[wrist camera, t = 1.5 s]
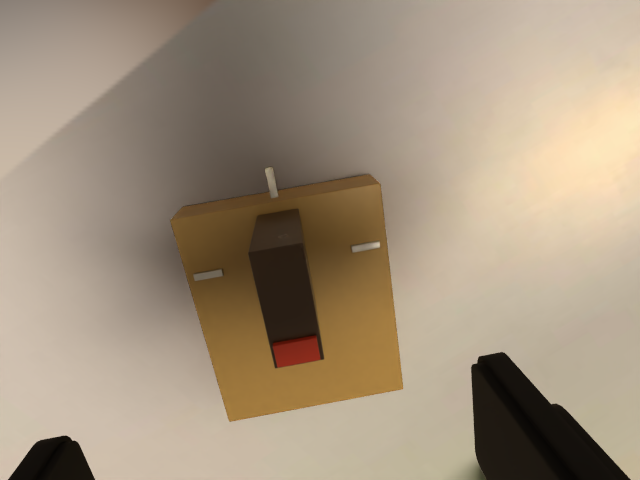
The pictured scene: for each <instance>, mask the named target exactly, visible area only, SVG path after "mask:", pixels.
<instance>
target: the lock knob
mask: <svg viewBox="0 0 640 480" xmlns="http://www.w3.org/2000/svg"><path fill="white" fill-rule="evenodd" d="M248 256H249V260H250V265H251V269H252V273H253V277H254V282H255V286H256V290H257V294H258V299H259V303H260V307H261V311H262V316H263V320H264V324H265V328H266V333H267V337H268V341H269V345H270V350H271V354H272V358H273V362H274V367H275V368H281V367H287V366H292V365H298V364H303V363H308V362H314V361H319V360H324V352H323V346H322V339H321V333H320V326H319V320H318V313H317V307H316V300H315V295H314V289H313V284H312V278H311V273H310V268H309V262H308V257H307V251H306V246H305V240H304V235H303V229H302V224H301V218H300V213H299V209H298V208H297V209H292V210H286V211H280V212H275V213H269V214H263V215H258V216H257V218H256V222H255V226H254V230H253V234H252V239H251V243H250V247H249V251H248Z"/></svg>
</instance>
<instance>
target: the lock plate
mask: <svg viewBox="0 0 640 480" xmlns="http://www.w3.org/2000/svg"><path fill="white" fill-rule="evenodd" d="M265 172H266V177H267V182H268V187H269V192H265V193H259V194H253V195H248V196H242V197H236V198H231V199H225V200H219V201H213V202H208V203H202V204H196V205H191V206H185V207H182V208H181V209H180V210H179V211H178V212H177V213H176V214H175V215H174V217H173V218H172V219H171V220H170V222H171V225H172V229H173V232H174V236H175V239H176V242H177V246H178V249H179V253H180V256H181V259H182V263H183V266H184V270H185V273H186V276H187V280H188V283H189V286H190V290H191V293H192V297H193V300H194V303H195V307H196V310H197V314H198V317H199V320H200V324H201V327H202V331H203V334H204V337H205V341H206V344H207V348H208V351H209V354H210V358H211V361H212V365H213V368H214V371H215V375H216V378H217V382H218V385H219V388H220V392H221V395H222V399H223V402H224V405H225V409H226V412H227V416H228V419H229V421H230V422H231V421H236V420H241V419H247V418H252V417H257V416H263V415H268V414H273V413H278V412H284V411H289V410H294V409H300V408H305V407H310V406H316V405H321V404H326V403H332V402H337V401H342V400H347V399H353V398H358V397H363V396H369V395H374V394H379V393H385V392H390V391H395V390H401V389H403V382H402V373H401V364H400V355H399V346H398V337H397V328H396V319H395V310H394V301H393V292H392V284H391V275H390V266H389V257H388V248H387V239H386V230H385V221H384V212H383V203H382V194H381V185H380V183H379V182H378V181H377V180H376V179H375V178H373V177H372V176H371V175H370V174H368V175H362V176H356V177H351V178H345V179H339V180H334V181H328V182H322V183H316V184H311V185H305V186H299V187H294V188H288V189H282V190H277V186H276V181H275V176H274V171H273V167H269V168H265ZM297 208H298V209H299V213H300V218H301V224H302V229H303V235H304V240H305V246H306V251H307V257H308V262H309V268H310V273H311V278H312V284H313V289H314V295H315V300H316V307H317V313H318V320H319V326H320V333H321V339H322V346H323V352H324V360H319V361H314V362H308V363H303V364H298V365H292V366H287V367H281V368H275V367H274V362H273V358H272V354H271V350H270V345H269V341H268V337H267V333H266V328H265V324H264V320H263V316H262V311H261V307H260V303H259V299H258V294H257V290H256V286H255V282H254V277H253V273H252V269H251V265H250V260H249V256H248V251H249V247H250V243H251V239H252V234H253V230H254V226H255V222H256V218H257V216H258V215H263V214H269V213H275V212H280V211H286V210H292V209H297Z"/></svg>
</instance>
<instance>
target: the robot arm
mask: <svg viewBox="0 0 640 480" xmlns="http://www.w3.org/2000/svg"><path fill="white" fill-rule="evenodd" d="M471 373H472V394H473V414H474V435H475V452H476V457H477V460H478V463H479V466H480V468H481V470H482V472H483V473H484V475H485V477H486V479H487V480H630V479H629V478H628V476H627V475H626V474H625V473H624V472H623V471H622V470H621V469H620V468H619V467H618V466H617V465H616V463H615V462H614V461H613V460H612V459H611V458H610V457H609V456H608V455H607V454H606V453H605V452H604V451H603V449H602V448H601V447H600V446H599V445H598V444H597V443H596V442H595V441H594V440H593V439H592V438H591V436H590V435H589V434H588V433H587V432H586V431H585V430H584V429H583V428H582V427H581V426H580V425H579V423H578V422H577V421H576V420H575V419H574V418H573V417H572V416H571V415H570V414H569V413H568V412H567V411H566V410H565V409H564V408H563V407H562V406H560V405H558V404H550V403H549V402H548V400H547V399H546V398H545V397H544V396H543V395H542V394H541V393H540V392H539V390H538V389H537V388H536V387H535V386H534V385H533V384H532V383H531V381H530V380H529V379H528V378H527V377H526V376H525V375H524V374H523V372H522V371H521V370H520V369H519V368H518V367H517V366H516V365H515V363H514V362H513V361H512V360H511V359H510V358H509V357H508V356H507V355H506V354H505V353H503V352H501V353H495V354H490V355H485V356H480V357H479V358H478V363H477V364H473V365H472V367H471ZM8 480H95V479H94V476H93V474H92V472H91V470H90V468H89V465H88V463H87V461H86V459H85V456H84V454H83V452H82V450H81V448H80V445H79V444H78V442H76V441H72V440H71V438H70V437H68V436H60V437H55V438H50V439H44V440H40V441H38V442H36V443H35V444H34V445H33V447H32V448H31V449H30V451H29V452H28V453H27V455H26V456H25V458H24V459H23V460H22V462H21V463H20V464H19V466H18V467H17V468H16V470H15V471H14V473H13V474H12V475H11V477H10V478H9V479H8Z"/></svg>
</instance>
